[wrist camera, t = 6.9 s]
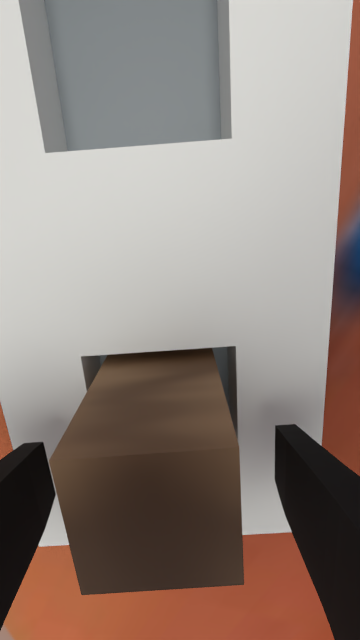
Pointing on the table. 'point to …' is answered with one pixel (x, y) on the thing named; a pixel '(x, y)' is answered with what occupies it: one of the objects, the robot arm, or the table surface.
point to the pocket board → (171, 208)
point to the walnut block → (152, 477)
